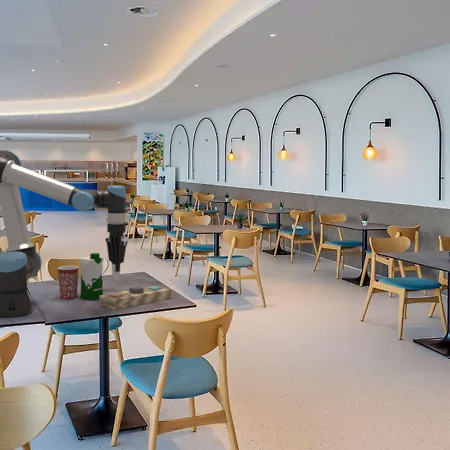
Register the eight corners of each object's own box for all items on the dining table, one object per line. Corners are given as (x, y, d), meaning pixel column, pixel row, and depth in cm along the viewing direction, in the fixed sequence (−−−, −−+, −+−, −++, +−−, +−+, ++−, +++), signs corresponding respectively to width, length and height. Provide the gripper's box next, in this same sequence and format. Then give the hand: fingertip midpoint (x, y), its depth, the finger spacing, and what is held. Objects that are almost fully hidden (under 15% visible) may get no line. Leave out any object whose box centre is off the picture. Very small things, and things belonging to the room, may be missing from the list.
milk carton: (92, 301, 240) (92, 255, 237) (76, 298, 244) (76, 253, 242) (106, 297, 247) (105, 252, 245) (90, 294, 252) (90, 251, 249)
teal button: (153, 295, 244) (153, 288, 244) (147, 293, 247) (147, 287, 247) (161, 294, 247) (161, 287, 247) (155, 292, 250) (155, 285, 250)
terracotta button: (115, 303, 230) (115, 296, 230) (109, 301, 233) (109, 294, 233) (124, 301, 233) (124, 294, 233) (118, 299, 236) (118, 292, 236)
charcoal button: (135, 296, 237) (135, 289, 237) (129, 294, 240) (129, 287, 240) (143, 294, 240) (143, 287, 240) (137, 293, 243) (137, 286, 243)
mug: (72, 300, 241) (72, 269, 239) (54, 298, 243) (53, 268, 241) (86, 293, 253) (86, 264, 252) (68, 292, 255) (68, 263, 254)
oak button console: (114, 309, 226) (114, 300, 226) (99, 304, 234) (99, 295, 233) (171, 298, 247) (171, 289, 247) (156, 293, 255) (156, 285, 254)
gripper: (133, 223, 228) (132, 280, 230) (115, 221, 237) (114, 275, 239) (117, 224, 222) (117, 282, 225) (100, 221, 232) (99, 277, 234)
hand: (116, 278), depth 232 cm, fingers closed
